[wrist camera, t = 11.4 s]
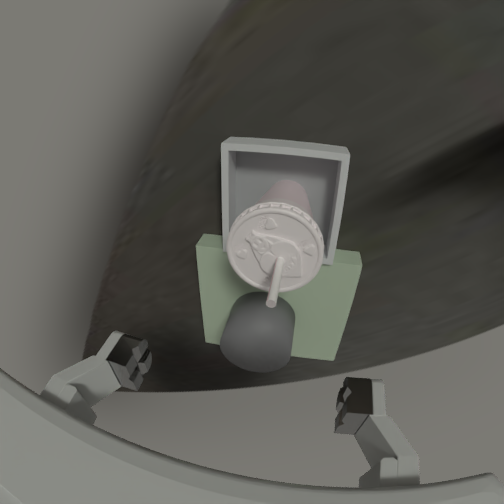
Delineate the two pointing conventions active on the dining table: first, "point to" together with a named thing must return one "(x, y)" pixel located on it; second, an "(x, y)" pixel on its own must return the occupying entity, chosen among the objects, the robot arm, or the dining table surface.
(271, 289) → the smoothie
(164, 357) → the dining table surface
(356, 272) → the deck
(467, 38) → the dining table surface
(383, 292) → the dining table surface
